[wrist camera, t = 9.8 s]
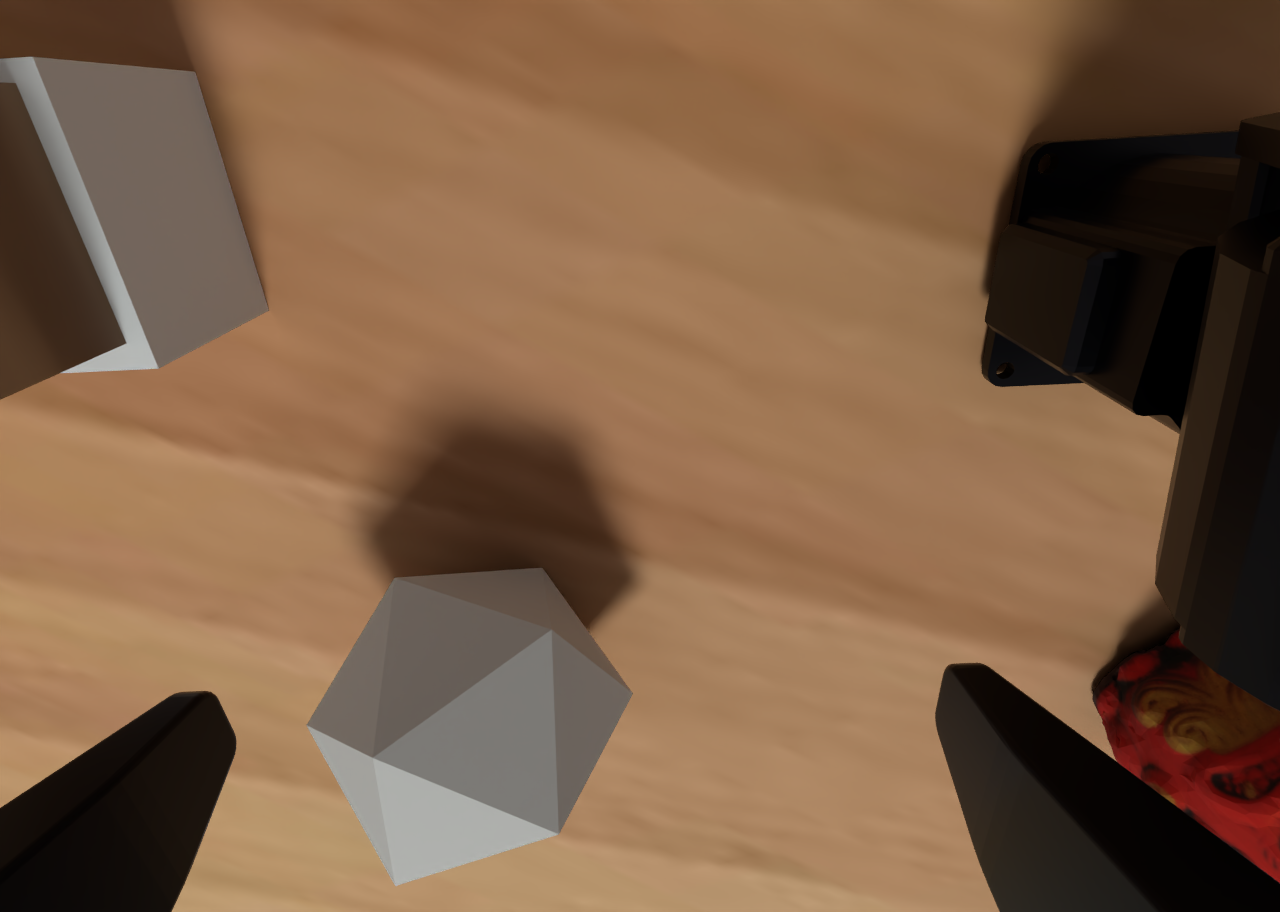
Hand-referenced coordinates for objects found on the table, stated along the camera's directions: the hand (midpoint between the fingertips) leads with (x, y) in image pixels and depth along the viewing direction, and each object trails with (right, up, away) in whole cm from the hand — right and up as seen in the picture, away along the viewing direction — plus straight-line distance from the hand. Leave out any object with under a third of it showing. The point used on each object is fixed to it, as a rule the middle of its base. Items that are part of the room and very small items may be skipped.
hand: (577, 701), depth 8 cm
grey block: (-13, +10, +10) cm, 19 cm away
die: (-4, -3, +17) cm, 17 cm away
